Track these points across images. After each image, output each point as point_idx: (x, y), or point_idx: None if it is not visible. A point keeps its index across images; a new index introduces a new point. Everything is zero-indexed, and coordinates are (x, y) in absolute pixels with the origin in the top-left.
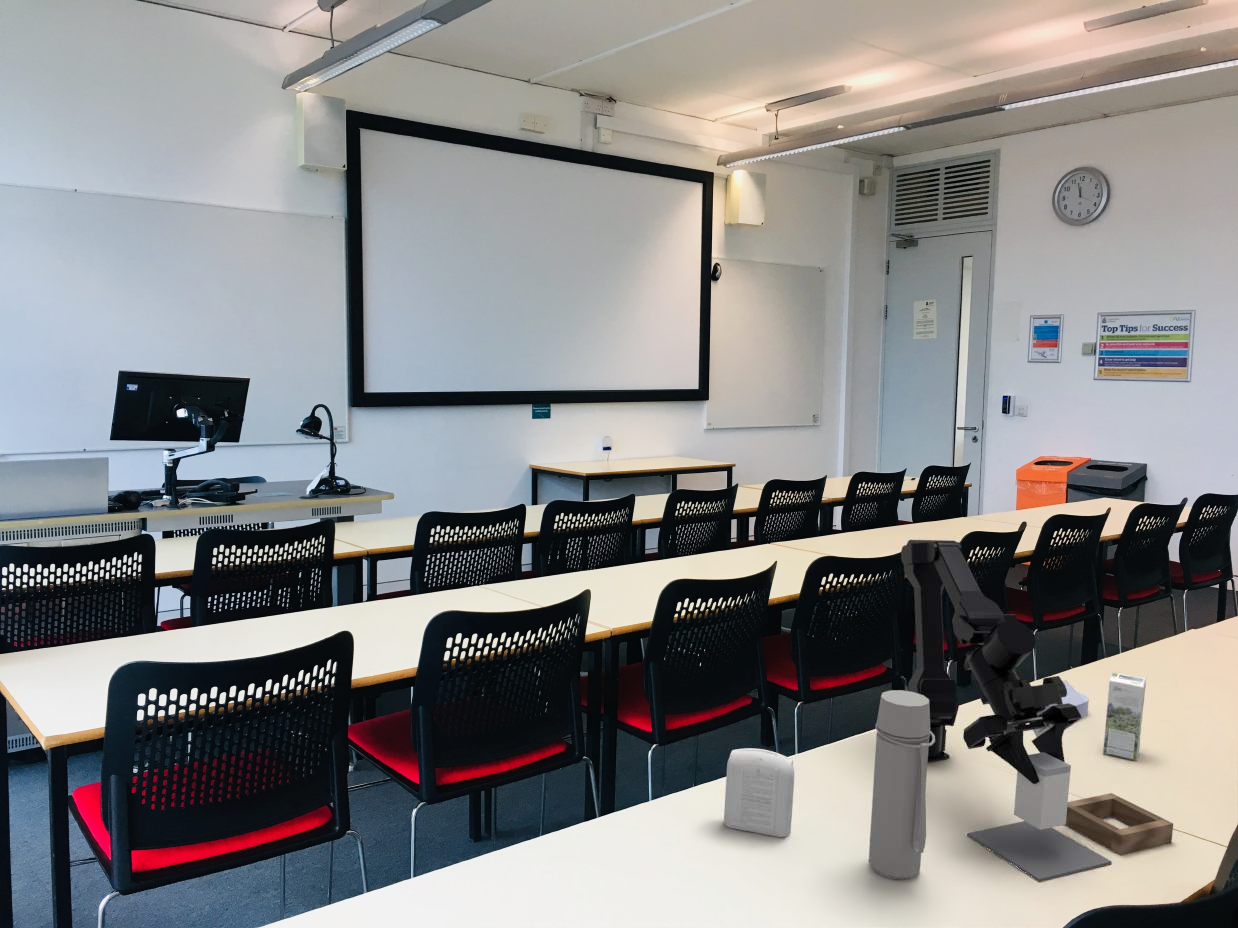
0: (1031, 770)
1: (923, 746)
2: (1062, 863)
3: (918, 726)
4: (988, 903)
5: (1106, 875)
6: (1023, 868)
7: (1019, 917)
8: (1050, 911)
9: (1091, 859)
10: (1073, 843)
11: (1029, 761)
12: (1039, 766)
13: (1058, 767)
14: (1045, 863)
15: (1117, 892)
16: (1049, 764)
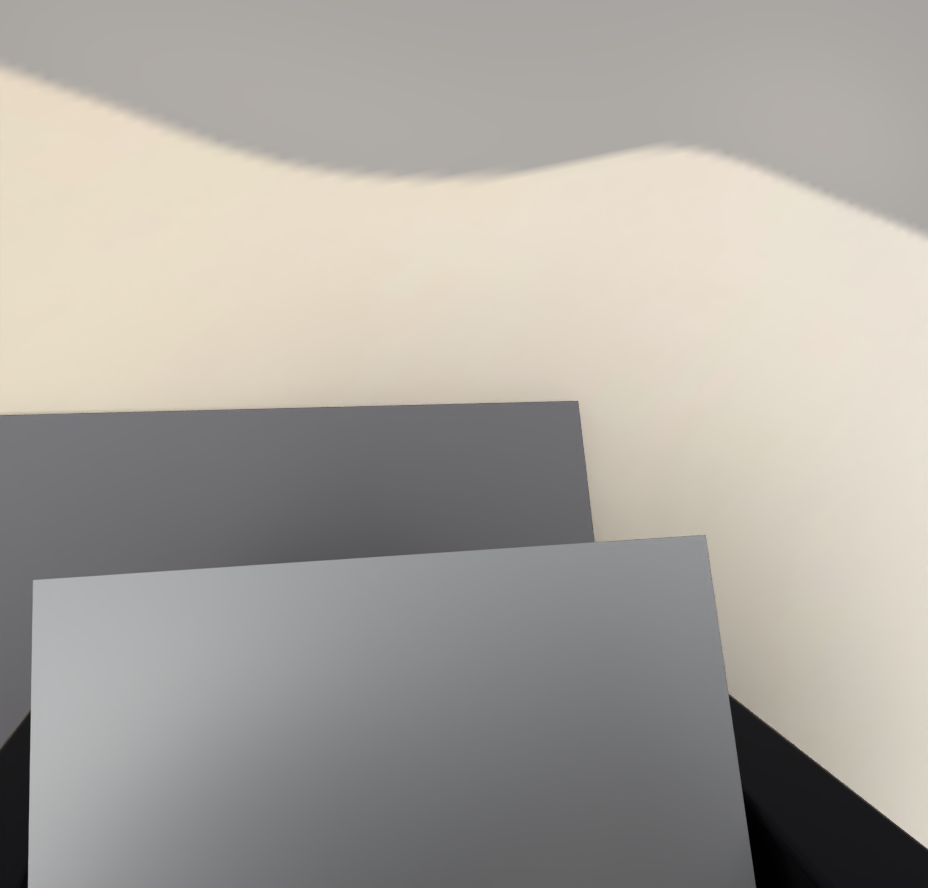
0: (773, 738)
1: None
2: (317, 495)
3: None
4: (912, 339)
5: (135, 330)
6: (587, 517)
7: (847, 211)
8: (694, 193)
9: (82, 477)
10: (6, 697)
11: (844, 857)
12: (700, 701)
13: (379, 571)
14: (422, 525)
15: (237, 183)
16: (455, 734)
